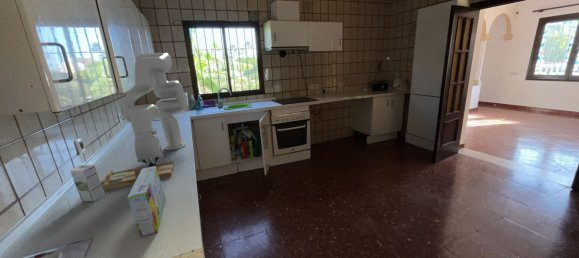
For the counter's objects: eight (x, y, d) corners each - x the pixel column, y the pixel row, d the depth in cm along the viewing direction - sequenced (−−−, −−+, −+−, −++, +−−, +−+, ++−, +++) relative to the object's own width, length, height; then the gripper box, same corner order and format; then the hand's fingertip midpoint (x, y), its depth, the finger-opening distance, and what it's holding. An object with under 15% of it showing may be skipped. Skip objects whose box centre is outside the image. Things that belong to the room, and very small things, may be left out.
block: (139, 174, 113) (136, 167, 112) (150, 172, 114) (148, 165, 113) (136, 179, 108) (134, 171, 107) (148, 176, 110) (146, 169, 109)
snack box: (150, 202, 93) (141, 168, 88) (166, 198, 95) (157, 164, 90) (139, 238, 74) (125, 196, 69) (158, 232, 76) (147, 192, 71)
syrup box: (105, 194, 101) (95, 163, 97) (93, 202, 96) (82, 170, 91) (93, 194, 102) (83, 164, 98) (81, 202, 96) (69, 170, 92)
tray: (113, 177, 116) (110, 170, 115) (174, 165, 125) (172, 158, 124) (102, 191, 104) (99, 183, 103) (171, 177, 113) (169, 169, 111)
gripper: (163, 130, 113) (171, 164, 118) (127, 135, 108) (138, 171, 113) (161, 134, 106) (170, 170, 111) (123, 140, 101) (134, 178, 107)
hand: (153, 170), depth 112 cm, fingers closed
